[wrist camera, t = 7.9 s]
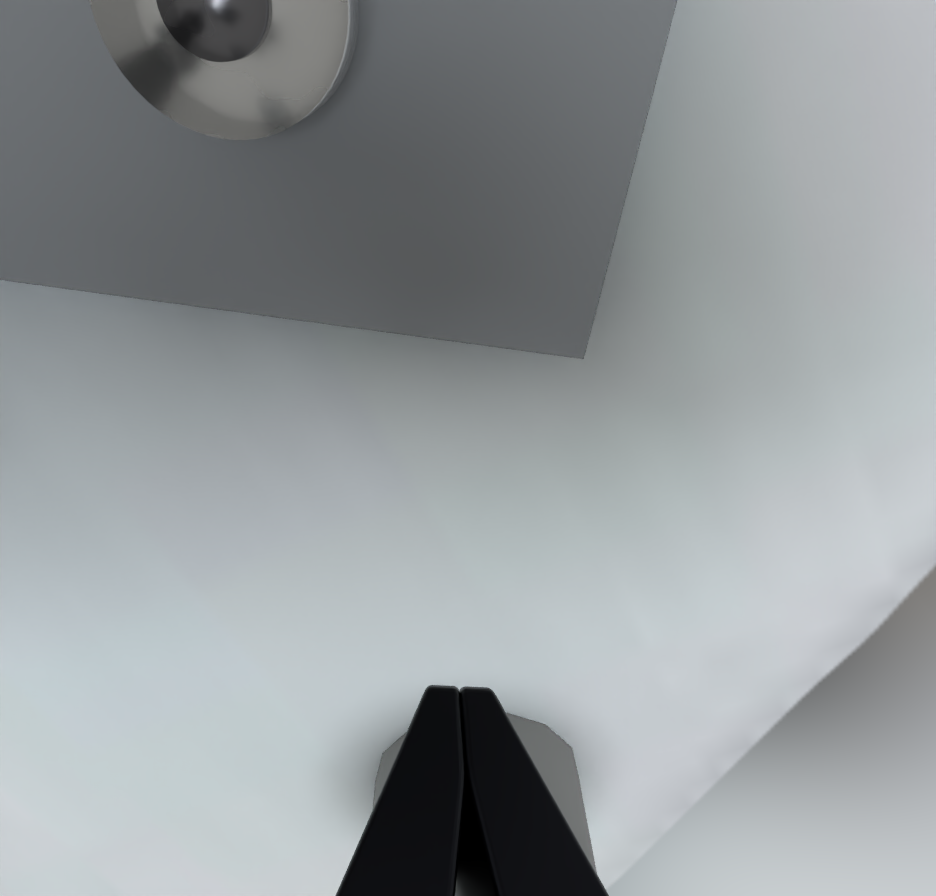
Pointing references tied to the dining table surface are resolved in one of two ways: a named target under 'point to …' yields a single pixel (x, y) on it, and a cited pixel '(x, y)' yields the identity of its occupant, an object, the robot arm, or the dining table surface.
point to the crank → (231, 58)
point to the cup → (551, 763)
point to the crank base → (345, 173)
